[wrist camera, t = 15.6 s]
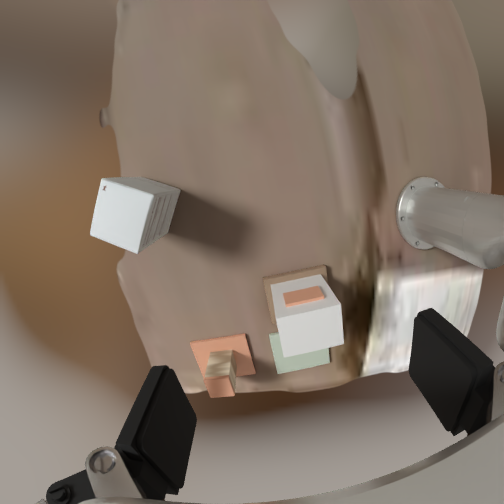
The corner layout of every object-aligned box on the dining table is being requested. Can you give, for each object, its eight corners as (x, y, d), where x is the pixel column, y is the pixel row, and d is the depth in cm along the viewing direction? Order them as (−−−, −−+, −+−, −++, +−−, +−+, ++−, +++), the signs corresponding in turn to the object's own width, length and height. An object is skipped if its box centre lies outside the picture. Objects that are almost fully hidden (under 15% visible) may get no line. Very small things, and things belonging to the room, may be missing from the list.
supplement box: (128, 219, 41) (87, 235, 29) (141, 175, 39) (100, 175, 27) (168, 234, 42) (137, 256, 30) (183, 189, 40) (154, 193, 28)
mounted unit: (324, 264, 43) (347, 294, 31) (329, 308, 45) (351, 347, 33) (262, 277, 43) (265, 313, 32) (272, 320, 45) (277, 364, 34)
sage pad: (325, 321, 45) (326, 323, 45) (329, 360, 48) (329, 362, 47) (268, 334, 46) (269, 335, 45) (277, 372, 48) (277, 373, 48)
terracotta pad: (245, 333, 46) (244, 335, 45) (255, 371, 48) (255, 373, 48) (190, 341, 47) (190, 343, 46) (205, 378, 49) (204, 380, 48)
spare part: (232, 349, 46) (228, 378, 39) (237, 366, 47) (234, 395, 40) (210, 352, 46) (203, 380, 39) (216, 368, 47) (210, 397, 40)
